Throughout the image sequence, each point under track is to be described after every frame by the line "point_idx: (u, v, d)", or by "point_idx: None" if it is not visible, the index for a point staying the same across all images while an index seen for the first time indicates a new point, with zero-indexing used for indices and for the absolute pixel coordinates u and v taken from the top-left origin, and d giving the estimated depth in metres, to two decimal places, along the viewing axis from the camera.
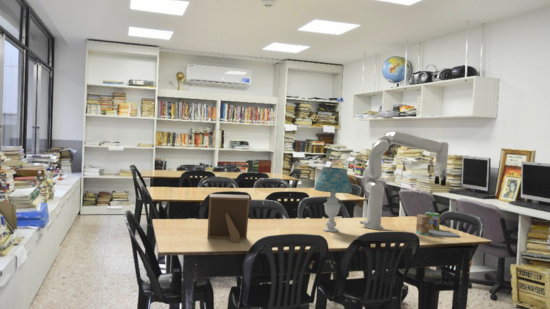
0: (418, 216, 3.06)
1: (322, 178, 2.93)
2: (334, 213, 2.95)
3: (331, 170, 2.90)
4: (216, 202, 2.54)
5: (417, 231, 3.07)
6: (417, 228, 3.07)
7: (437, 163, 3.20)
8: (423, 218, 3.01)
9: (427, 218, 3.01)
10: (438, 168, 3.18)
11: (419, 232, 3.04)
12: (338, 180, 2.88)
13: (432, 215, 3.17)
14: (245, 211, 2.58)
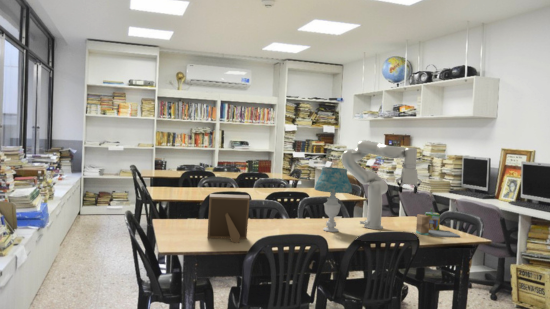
0: (418, 216, 3.06)
1: (322, 178, 2.93)
2: (334, 213, 2.95)
3: (331, 170, 2.90)
4: (216, 202, 2.54)
5: (417, 231, 3.07)
6: (417, 228, 3.07)
7: (411, 171, 3.00)
8: (423, 218, 3.01)
9: (427, 218, 3.01)
10: (413, 176, 3.01)
11: (419, 232, 3.04)
12: (338, 180, 2.88)
13: (432, 215, 3.17)
14: (245, 211, 2.58)
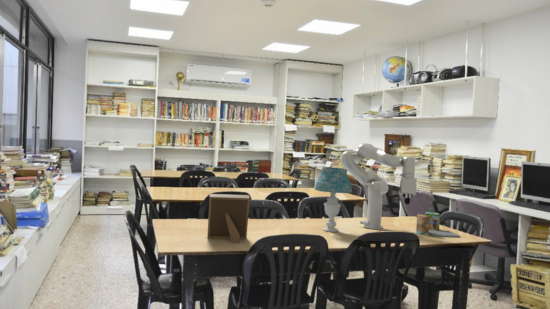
0: (418, 216, 3.06)
1: (322, 178, 2.93)
2: (334, 213, 2.95)
3: (331, 170, 2.90)
4: (216, 202, 2.54)
5: (417, 231, 3.07)
6: (417, 228, 3.07)
7: (409, 180, 3.00)
8: (423, 218, 3.01)
9: (427, 218, 3.01)
10: (412, 185, 3.00)
11: (419, 232, 3.04)
12: (338, 180, 2.88)
13: (432, 215, 3.17)
14: (245, 211, 2.58)
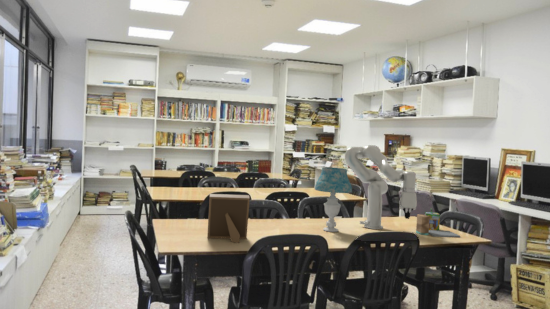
0: (418, 216, 3.06)
1: (322, 178, 2.93)
2: (334, 213, 2.95)
3: (331, 170, 2.90)
4: (216, 202, 2.54)
5: (417, 231, 3.07)
6: (417, 228, 3.07)
7: (409, 194, 3.00)
8: (423, 218, 3.01)
9: (427, 218, 3.01)
10: (412, 199, 3.01)
11: (419, 232, 3.04)
12: (338, 180, 2.88)
13: (432, 215, 3.17)
14: (245, 211, 2.58)
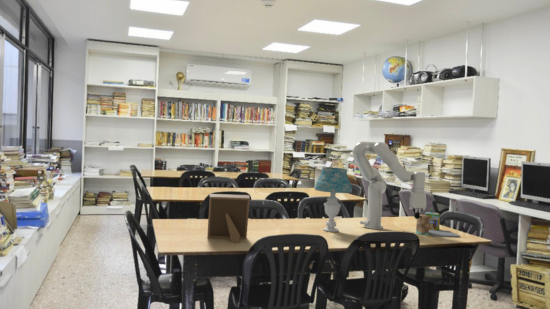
0: None
1: (322, 178, 2.93)
2: (334, 213, 2.95)
3: (331, 170, 2.90)
4: (216, 202, 2.54)
5: (417, 231, 3.07)
6: (417, 228, 3.07)
7: (419, 195, 3.01)
8: (423, 218, 3.01)
9: (427, 218, 3.01)
10: (422, 200, 3.01)
11: (419, 232, 3.04)
12: (338, 180, 2.88)
13: (432, 215, 3.17)
14: (245, 211, 2.58)
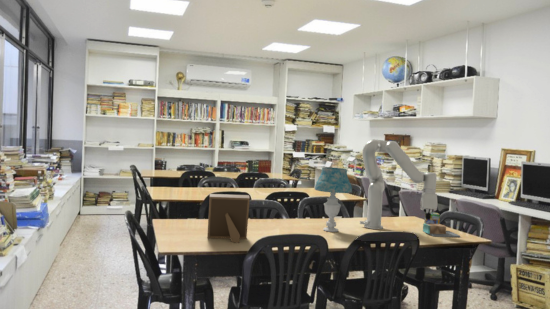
0: (440, 224, 3.08)
1: (322, 178, 2.93)
2: (334, 213, 2.95)
3: (331, 170, 2.90)
4: (216, 202, 2.54)
5: (426, 224, 3.07)
6: (428, 224, 3.08)
7: (430, 195, 3.02)
8: (444, 227, 3.02)
9: (444, 231, 3.03)
10: (433, 200, 3.02)
11: (428, 225, 3.04)
12: (338, 180, 2.88)
13: (432, 215, 3.17)
14: (245, 211, 2.58)
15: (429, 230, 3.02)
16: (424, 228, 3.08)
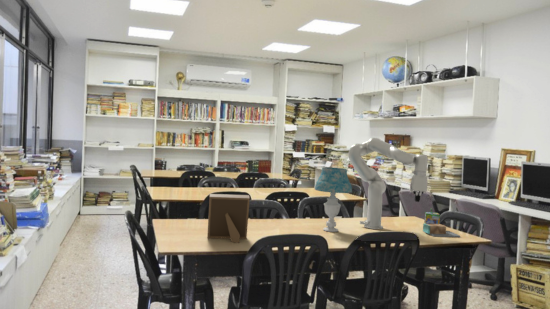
0: (440, 224, 3.08)
1: (322, 178, 2.93)
2: (334, 213, 2.95)
3: (331, 170, 2.90)
4: (216, 202, 2.54)
5: (426, 224, 3.07)
6: (428, 224, 3.08)
7: (421, 177, 3.01)
8: (444, 227, 3.02)
9: (444, 231, 3.03)
10: (423, 183, 3.01)
11: (428, 225, 3.04)
12: (338, 180, 2.88)
13: (432, 215, 3.17)
14: (245, 211, 2.58)
15: (429, 230, 3.02)
16: (424, 228, 3.08)
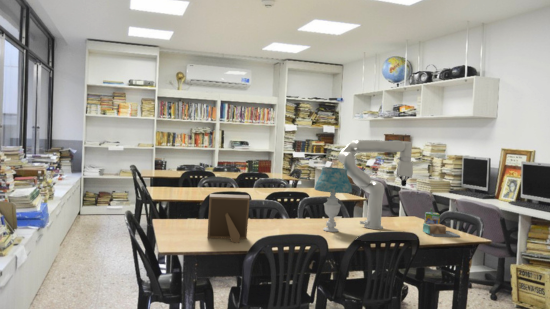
0: (440, 224, 3.08)
1: (322, 178, 2.93)
2: (334, 213, 2.95)
3: (331, 170, 2.90)
4: (216, 202, 2.54)
5: (426, 224, 3.07)
6: (428, 224, 3.08)
7: (406, 163, 3.17)
8: (444, 227, 3.02)
9: (444, 231, 3.03)
10: (409, 168, 3.17)
11: (428, 225, 3.04)
12: (338, 180, 2.88)
13: (432, 215, 3.17)
14: (245, 211, 2.58)
15: (429, 230, 3.02)
16: (424, 228, 3.08)
